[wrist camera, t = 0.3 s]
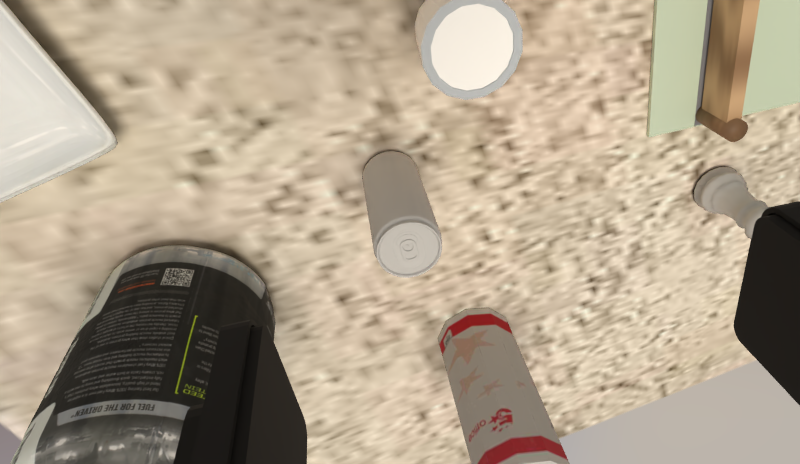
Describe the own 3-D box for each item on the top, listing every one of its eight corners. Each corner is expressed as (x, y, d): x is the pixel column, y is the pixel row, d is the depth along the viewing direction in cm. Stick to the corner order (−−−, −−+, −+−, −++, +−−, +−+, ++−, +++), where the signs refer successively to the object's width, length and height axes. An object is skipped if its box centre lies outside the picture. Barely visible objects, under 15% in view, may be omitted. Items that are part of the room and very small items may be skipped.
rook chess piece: (682, 202, 54) (735, 247, 47) (705, 160, 52) (764, 202, 45) (720, 209, 55) (777, 254, 48) (745, 168, 53) (808, 210, 46)
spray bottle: (490, 366, 62) (578, 612, 41) (428, 356, 60) (489, 609, 39) (520, 314, 59) (634, 553, 38) (455, 301, 57) (538, 547, 36)
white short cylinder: (512, 29, 43) (543, 52, 37) (443, 89, 45) (463, 120, 39) (459, -45, 40) (483, -33, 34) (387, 23, 42) (399, 46, 36)
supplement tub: (64, 281, 50) (-133, 591, 28) (215, 208, 48) (132, 480, 26) (174, 387, 58) (89, 689, 36) (307, 329, 56) (301, 610, 34)
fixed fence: (711, -46, 42) (750, -39, 38) (735, -51, 42) (776, -45, 38) (693, 124, 49) (724, 144, 45) (713, 119, 49) (745, 138, 45)
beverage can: (410, 141, 47) (436, 212, 37) (422, 190, 49) (450, 268, 39) (355, 157, 47) (365, 232, 37) (370, 204, 49) (384, 286, 39)
